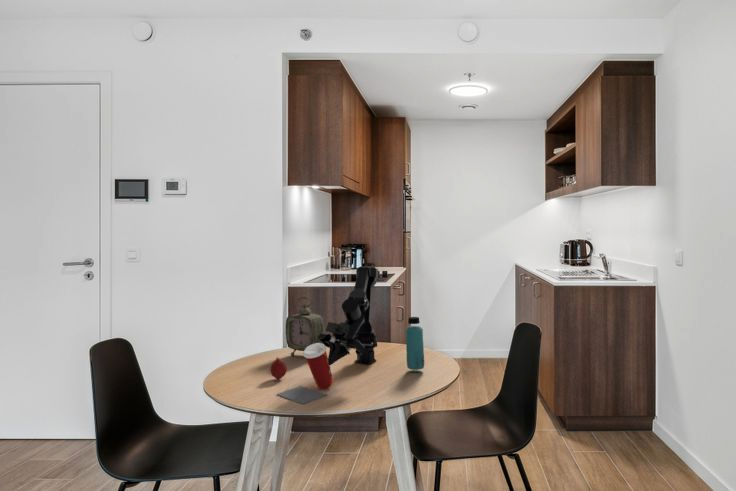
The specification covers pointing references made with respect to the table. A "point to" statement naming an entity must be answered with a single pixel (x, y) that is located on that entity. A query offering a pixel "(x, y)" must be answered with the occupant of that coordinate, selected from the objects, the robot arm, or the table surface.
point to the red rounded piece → (278, 369)
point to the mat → (301, 394)
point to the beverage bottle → (414, 345)
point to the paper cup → (319, 365)
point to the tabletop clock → (303, 328)
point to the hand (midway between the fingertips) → (328, 364)
